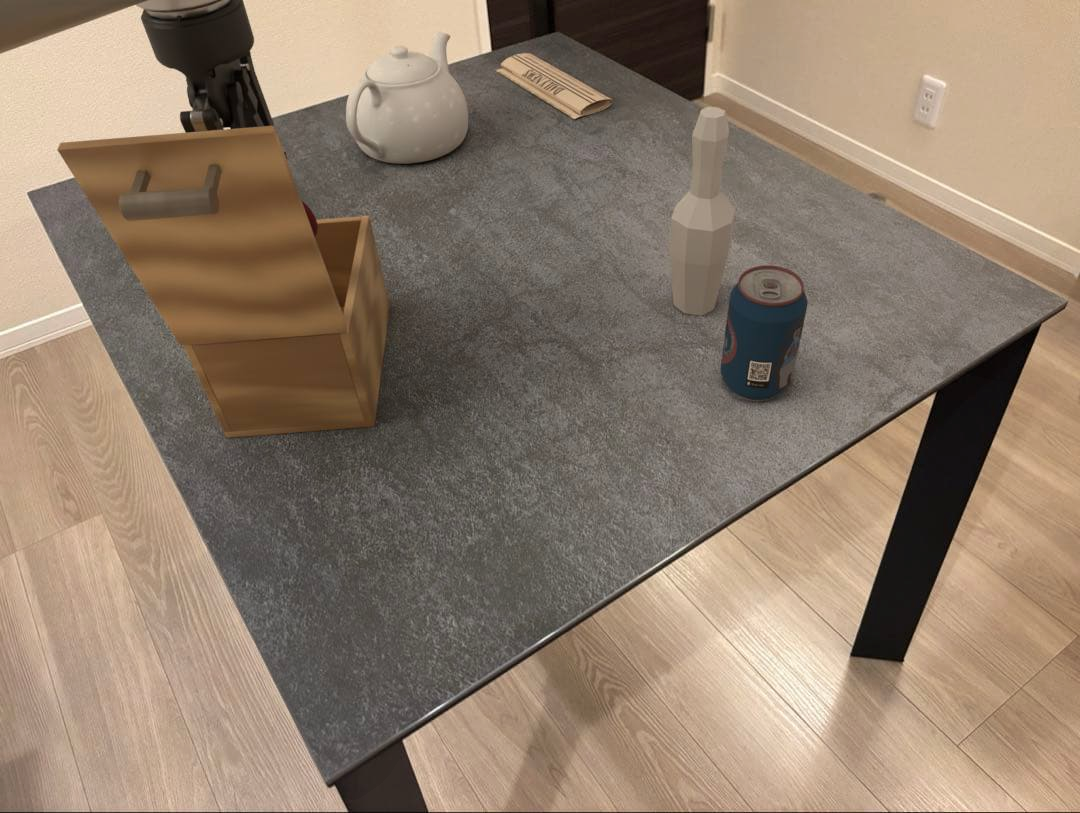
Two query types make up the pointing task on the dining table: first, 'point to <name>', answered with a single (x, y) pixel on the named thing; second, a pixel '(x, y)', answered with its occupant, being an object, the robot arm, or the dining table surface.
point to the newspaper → (553, 85)
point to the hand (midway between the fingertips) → (275, 255)
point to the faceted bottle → (702, 221)
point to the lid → (212, 232)
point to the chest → (308, 353)
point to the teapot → (408, 106)
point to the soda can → (763, 332)
